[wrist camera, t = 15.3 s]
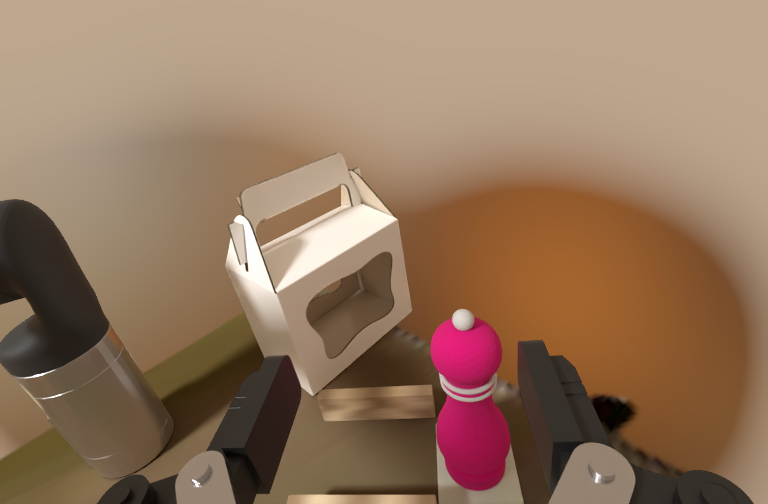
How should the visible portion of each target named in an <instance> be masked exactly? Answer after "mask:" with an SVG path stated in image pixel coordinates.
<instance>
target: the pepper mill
mask: <svg viewBox="0 0 768 504" xmlns="http://www.w3.org/2000/svg"><path fill="white" fill-rule="evenodd" d="M431 357H432V361H433V364H434V365H435V367H436V369H437V370H438V372H439V376H440V383H441V386H442V388H443V390H444V391H445V392H446V393H447V399H446V402H445V404H444V406H443V408H442V410H441V411H440V414H439V417H438V421H437V427H436V436H437V444H438V447H439V449H440V452H441V453H442V455H443V456H444V460H445V465H446V469H447V471H448V473H449V475H450V476H451V477H452V479H453V480H454V481H455V482H456V483H457V484H459V485H460V486H462V487H464V488H466V489H469V490H474V491H483V490H487V489H490V488H492V487H494V486H495V485H497V484H498V483H499V482H500V481H501V479H502V478H503V475H504V473H505V468H506V458H507V455H508V453H509V450H510V444H511V443H510V432H509V428H508V424H507V422H506V420H505V418H504V416H503V414H502V412H501V411H500V409H499V408H498V407H497V405H496V404H495V403H494V402H493V399H492V393H493V391H494V390H495V388H496V384H497V370H498V368H499V366H500V364H501V360H502V347H501V342H500V339H499V337H498V335H497V334H496V332H495V330H494V329H493V328H492V327H491V326H490V325H489V324H488V323H486V322H485V321H483V320H481V319H479V318H475V317H474V316H473V315H472V313H471V312H470V311H468V310H466V309H460V310H457V311H456V312H455V313H454V315H453V317H452V318H451V319H449V320H447V321H445V322H444V323H442V324H441V325H440V326H439V327H438V328H437V330H436V331H435V333H434V335H433V337H432V341H431Z"/></svg>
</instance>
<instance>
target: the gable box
mask: <svg viewBox="0 0 768 504" xmlns="http://www.w3.org/2000/svg"><path fill="white" fill-rule="evenodd" d="M340 186H341V204H342V206H340V207H338V208H336V209H334V210H332V211H330V212H328V213H326V214H325V215H323V216H321V217H319V218H317V219H315V220H313V221H311V222H309V223H307V224H305V225H303V226H301V227H299V228H297V229H295V230H293V231H291V232H289V233H287V234H285V235H284V236H281V237H279V238H277V239H275V240H273V241H271V242H269V243H267V244H265V245H264V246H261V247H260V245H259V242H258V239H257V236H256V227H257V225H258V223H262V222H264V221H265V220H266V219H268V218H270V217H273V216H275V215H277V214H279V213H281V212H284V211H286V210H288V209H290V208H292V207H294V206H297V205H299V204H301V203H303V202H305V201H307V200H309V199H312V198H314V197H316V196H318V195H320V194H323V193H325V192H327V191H329V190H331V189H333V188H335V187H340ZM236 200H237V202H238V203H239V206H240V207H241V209H242V215H239V216H237V217H236V218H235V220H234V222H232V223H230V224H228V229H229V231H230V235H231V241H230V245H229V250H228V255H227V260H226V265H225V267H226V269H227V271H228V274H229V276H230V278H231V281H232V283H233V286H234V288H235V290H236V293H237V295H238V297H239V300H240V302H241V304H242V307H243V309H244V311H245V314H246V316H247V318H248V321H249V323H250V325H251V328H252V330H253V332H254V335H255V337H256V339H257V342H258V344H259V346H260V349H261V351H262V353H263V356H264V358H266V357H267V356H278V355H288V356H289V357H290V358H291V361H292V363H293V366H294V369H295V371H296V374H297V376H298V379H299V382H300V385H301V387H302V388H303V389H305V390H306V391H307V392H308V393H310V394H311V395H312V396H314V395H315V394H317V393H318V392H319V390H321V389H322V388H323V387H325V386H326V385H327V384H328V383H329V382H330V381H332V380H333V379H334V378H335V377H336V376H337V375H339V374H340V373H341V372H342V371H343V370H344V369H346V368H347V367H348V366H349V365H350V364H351V363H353V362H354V361H355V360H356V359H357V358H358V357H359V356H361V355H362V354H363V353H364V352H365V351H366V350H368V349H369V348H370V347H371V346H372V345H373V344H375V343H376V342H377V341H378V340H379V339H380V338H382V337H383V336H384V335H385V334H386V333H387V332H388V331H390V330H391V329H392V328H393V327H394V326H395V325H397V324H398V323H399V322H400V321H401V320H402V319H404V318H405V317H406V316H407V315H408V314H409V313H411V312H412V306H411V300H410V294H409V288H408V281H407V275H406V268H405V262H404V256H403V250H402V244H401V237H400V231H399V225H398V220H397V218H396V217H395V215H394V214H393V213H392V212H391V211H390V210H389V209H388V207H387V206H386V205H385V204H384V203H383V202H382V200H381V199H380V198H379V197H378V196H377V195H376V193H375V192H374V191H373V190H372V189H371V188H370V187H369V185H367V183H366V182H365V181H364V180H363V178H362V177H361V174H360V170H359V168H354V169H353V170H350V169H347V166H346V163H345V160H344V158H343V156H342V155H341V154H339V153H334V154H332V155H329V156H327V157H324V158H321V159H319V160H316V161H314V162H311V163H309V164H306V165H303V166H301V167H298V168H296V169H293V170H291V171H288V172H286V173H283V174H281V175H278V176H276V177H273V178H270V179H268V180H265V181H263V182H260V183H257V184H255V185H252V186H250V187H247V188H245V189H243V190H242V191H241V192H240V196H239V197H238V198H236ZM362 202H364V204H365V205H364V204H362ZM339 279H341V284H340V286H339V288H338V289H337V290H335V291H334V292H332V293H329V294H325V295H322V296H320V297H318V298H316V299H314V300H313V301H311V299H312V298H313V297H314V296H315V295H316V294H317V293H318V292H319V291H321V290H322V289H323V288H325V287H326V286H328V285H329V284H331V283H333V282H335V281H337V280H339ZM360 288H361V290H360ZM310 301H311V302H310ZM309 302H310V303H309Z"/></svg>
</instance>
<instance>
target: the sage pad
mask: <svg viewBox="0 0 768 504" xmlns="http://www.w3.org/2000/svg"><path fill="white" fill-rule="evenodd" d="M436 427H437V423H436ZM436 445H437V472H438V498H439V504H524V502H523V497H522V493H521V488H520V484H519V479H518V475H517V470H516V466H515V461H514V457H513V452H512V448H511V444H510V450H509V453H508V455H507V458H506V468H505V473H504V475H503V478H502V479H501V481H500V482H499V483H498V484H497V485H495V486H494V487H492V488H490V489H487V490H483V491H474V490H469V489H466V488H464V487H462V486H460V485H459V484H457V483H456V482H455V481H454V480H453V479H452V477H451V476H450V475H449V473H448V471H447V469H446V465H445V460H444V456H443V455H442V453H441V452H440V449H439V447H438V444H437V436H436Z"/></svg>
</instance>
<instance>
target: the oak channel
mask: <svg viewBox="0 0 768 504" xmlns="http://www.w3.org/2000/svg"><path fill="white" fill-rule="evenodd" d="M317 402H318V405H319V407H320V410H321V413H322V416H323V418H324V421H349V420H379V419H410V418H436V414H435V402H434V395H433V388H432V385H413V386H391V387H369V388H348V389H326V390H319V394H318V397H317ZM287 504H437V501H436V495H289V497H288V500H287Z"/></svg>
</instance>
